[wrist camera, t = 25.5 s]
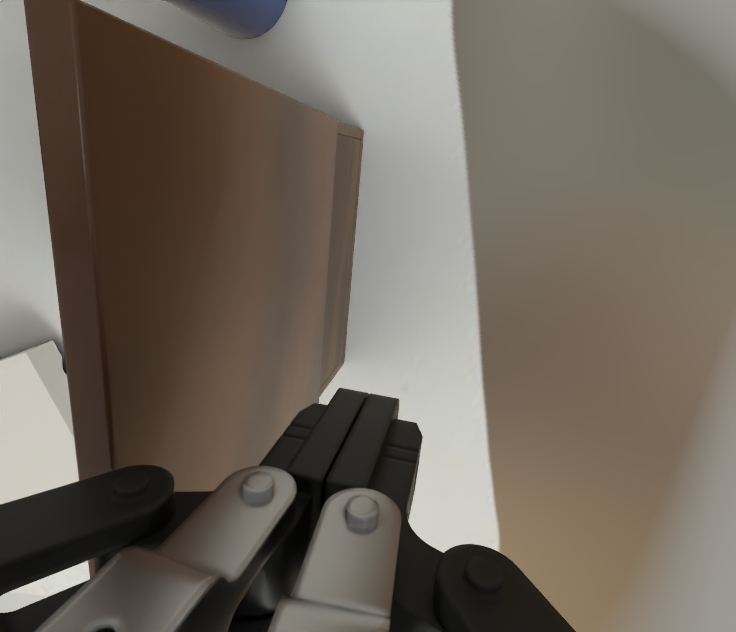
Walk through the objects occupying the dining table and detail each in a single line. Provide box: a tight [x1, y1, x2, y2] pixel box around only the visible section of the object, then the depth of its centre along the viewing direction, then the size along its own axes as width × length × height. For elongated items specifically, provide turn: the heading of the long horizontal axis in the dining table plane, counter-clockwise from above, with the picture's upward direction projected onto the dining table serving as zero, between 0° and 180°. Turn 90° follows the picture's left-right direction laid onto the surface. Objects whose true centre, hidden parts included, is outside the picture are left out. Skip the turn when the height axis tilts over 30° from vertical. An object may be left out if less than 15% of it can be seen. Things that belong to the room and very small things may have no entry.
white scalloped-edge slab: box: [0, 340, 88, 563], centre depth 43 cm, size 15×3×20 cm
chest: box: [319, 122, 364, 397], centre depth 31 cm, size 17×16×7 cm
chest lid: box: [24, 0, 338, 578], centre depth 18 cm, size 18×16×1 cm
